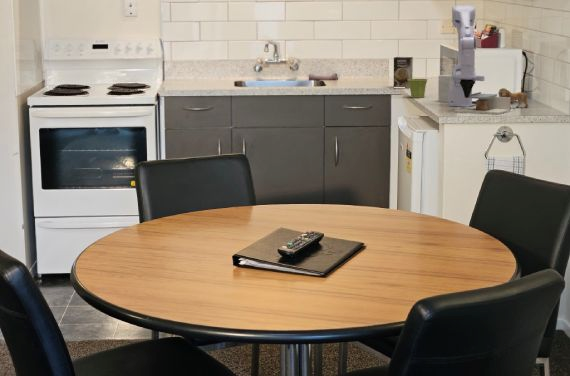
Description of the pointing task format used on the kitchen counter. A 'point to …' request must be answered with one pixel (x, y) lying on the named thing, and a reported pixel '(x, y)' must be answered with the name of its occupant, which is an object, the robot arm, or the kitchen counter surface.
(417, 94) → the plant pot
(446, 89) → the skincare box
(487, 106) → the block
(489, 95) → the cover
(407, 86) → the coffee box
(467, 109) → the puzzle board
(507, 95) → the lion figurine
